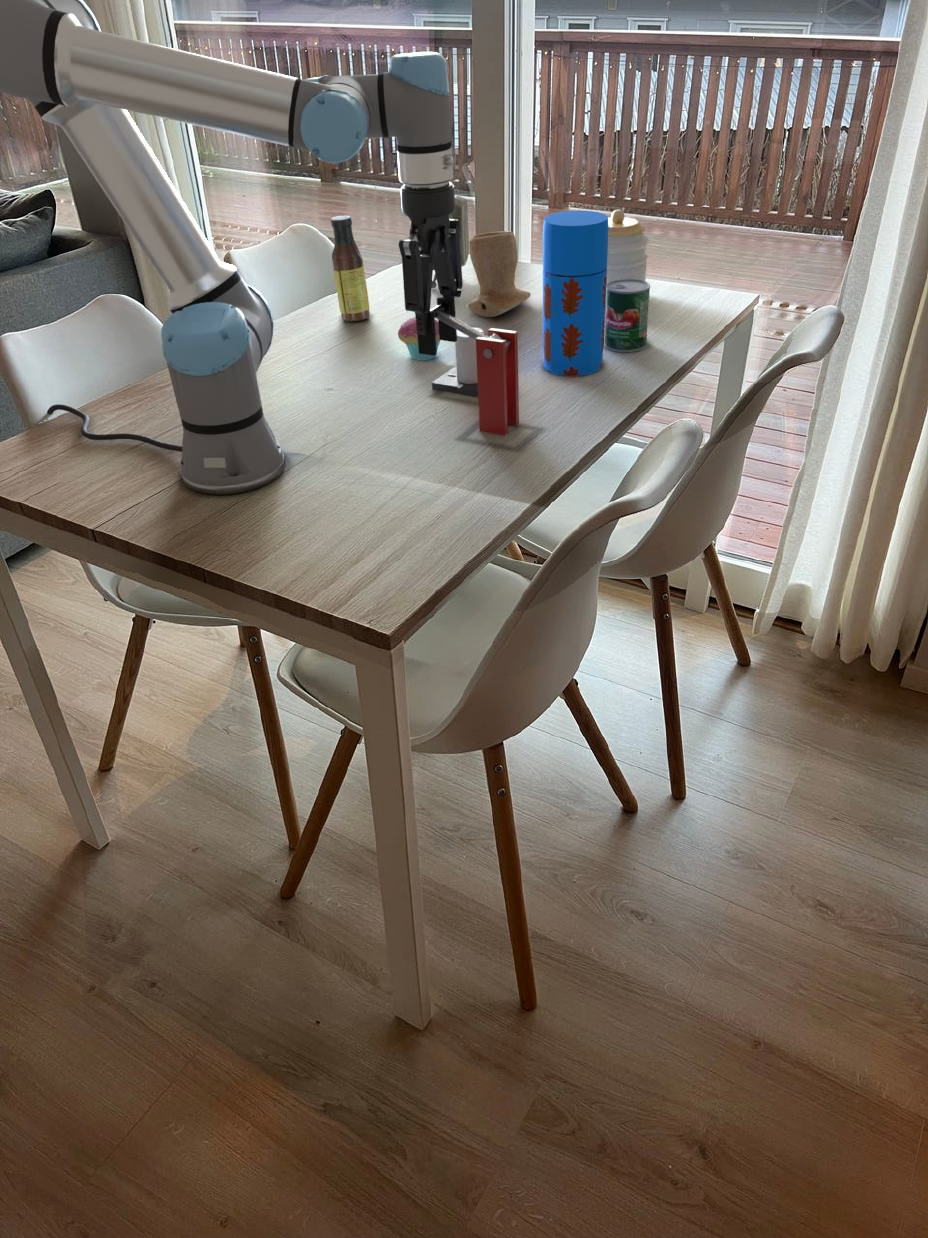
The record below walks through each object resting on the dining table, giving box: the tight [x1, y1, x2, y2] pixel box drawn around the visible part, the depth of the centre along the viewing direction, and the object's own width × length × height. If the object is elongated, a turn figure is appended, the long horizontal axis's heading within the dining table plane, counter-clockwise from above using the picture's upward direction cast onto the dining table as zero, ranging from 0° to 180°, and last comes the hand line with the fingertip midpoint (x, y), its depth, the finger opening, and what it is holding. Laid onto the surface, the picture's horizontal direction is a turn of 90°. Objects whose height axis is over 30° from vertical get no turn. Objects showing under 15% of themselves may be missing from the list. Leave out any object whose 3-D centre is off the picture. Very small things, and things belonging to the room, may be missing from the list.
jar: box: [606, 209, 650, 285], centre depth 191 cm, size 13×13×18 cm
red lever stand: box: [476, 327, 520, 437], centre depth 141 cm, size 10×8×16 cm
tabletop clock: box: [421, 194, 470, 290], centre depth 205 cm, size 14×9×25 cm, turn 174°
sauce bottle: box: [330, 215, 371, 322], centre depth 189 cm, size 7×6×20 cm
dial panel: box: [431, 366, 478, 398], centre depth 159 cm, size 11×9×3 cm
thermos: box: [542, 210, 609, 377], centre depth 160 cm, size 11×11×25 cm
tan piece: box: [467, 230, 532, 318], centre depth 191 cm, size 15×12×15 cm
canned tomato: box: [604, 279, 651, 353], centre depth 171 cm, size 8×8×11 cm
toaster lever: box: [430, 302, 511, 354], centre depth 138 cm, size 13×6×2 cm, turn 61°
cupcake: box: [397, 303, 441, 361], centre depth 171 cm, size 9×8×12 cm
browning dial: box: [454, 326, 484, 384], centre depth 155 cm, size 5×5×8 cm
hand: (438, 346), depth 142 cm, fingers closed on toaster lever, 5 cm apart
